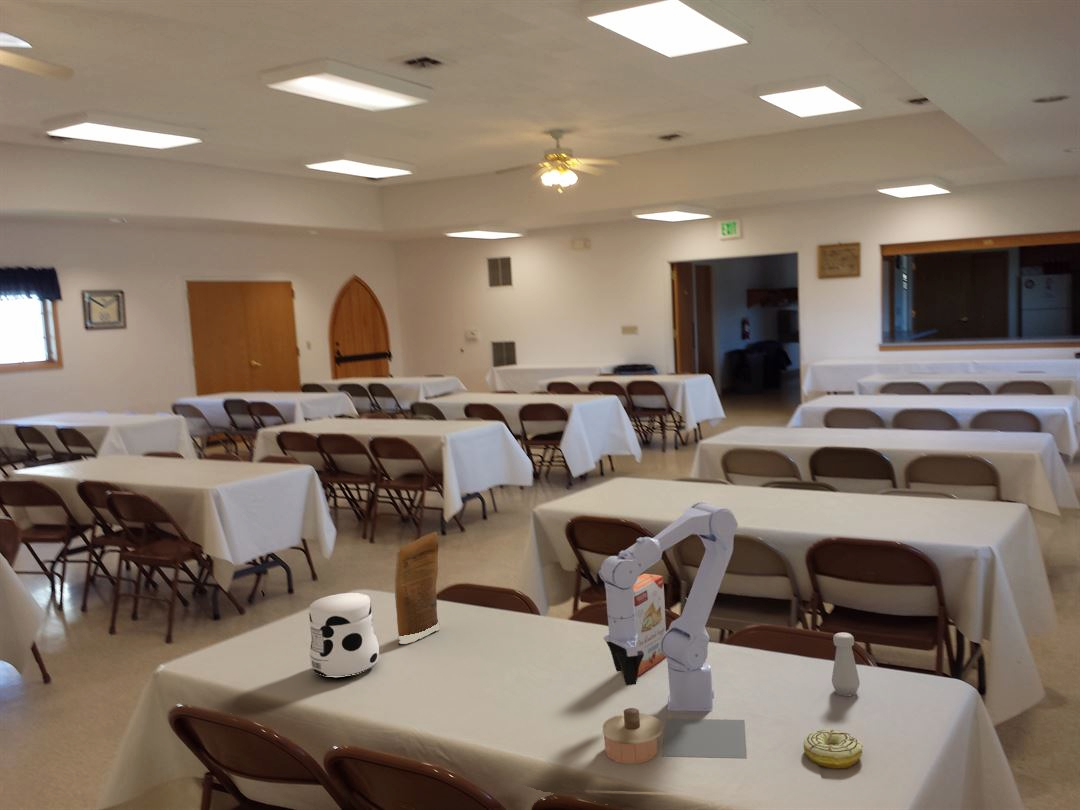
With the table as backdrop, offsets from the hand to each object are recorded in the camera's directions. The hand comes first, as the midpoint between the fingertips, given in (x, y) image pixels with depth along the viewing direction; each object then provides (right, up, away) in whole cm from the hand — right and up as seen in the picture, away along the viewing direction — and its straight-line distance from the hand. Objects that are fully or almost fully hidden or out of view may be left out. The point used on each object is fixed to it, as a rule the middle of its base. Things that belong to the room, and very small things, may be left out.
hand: (626, 677), depth 189 cm
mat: (+15, -10, -9) cm, 20 cm away
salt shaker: (+49, -6, +7) cm, 49 cm away
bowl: (0, -11, -12) cm, 16 cm away
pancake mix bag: (-51, -8, +63) cm, 82 cm away
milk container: (-68, -11, +42) cm, 81 cm away
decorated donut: (+37, -9, -19) cm, 43 cm away
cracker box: (+7, -7, +31) cm, 33 cm away
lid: (0, -7, -12) cm, 14 cm away
